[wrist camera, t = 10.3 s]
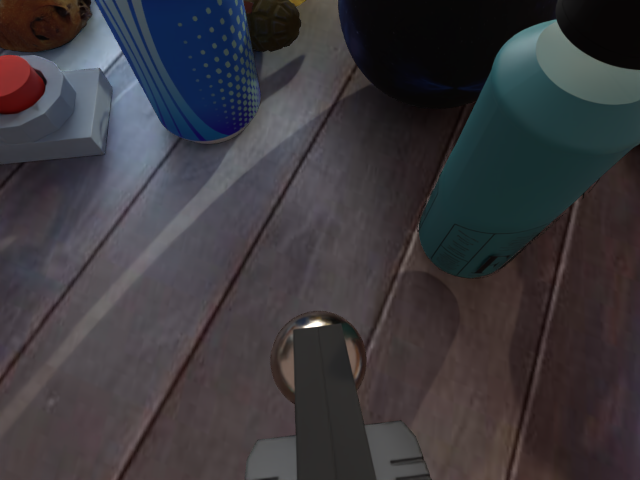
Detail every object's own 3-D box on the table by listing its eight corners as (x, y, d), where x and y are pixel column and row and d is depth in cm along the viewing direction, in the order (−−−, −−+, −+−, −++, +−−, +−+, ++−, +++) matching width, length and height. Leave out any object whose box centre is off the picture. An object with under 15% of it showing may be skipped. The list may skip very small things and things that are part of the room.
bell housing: (-25, 167, 32) (-69, 134, 28) (-7, 98, 35) (-45, 60, 31) (105, 154, 33) (77, 121, 29) (112, 87, 35) (88, 49, 32)
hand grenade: (316, 3, 35) (226, -13, 38) (278, -23, 30) (180, -38, 34) (302, 63, 36) (217, 43, 40) (264, 48, 31) (172, 26, 35)
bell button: (-16, 117, 30) (-35, 100, 28) (-5, 75, 31) (-23, 57, 30) (41, 112, 30) (25, 94, 28) (49, 71, 31) (34, 52, 30)
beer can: (233, 165, 32) (159, -47, 17) (142, 131, 33) (2, -93, 19) (279, 89, 35) (249, -146, 20) (194, 61, 37) (108, -179, 22)
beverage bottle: (454, 307, 28) (717, 85, 9) (390, 234, 30) (501, -63, 11) (521, 254, 29) (863, -27, 11) (456, 188, 31) (648, -139, 13)
